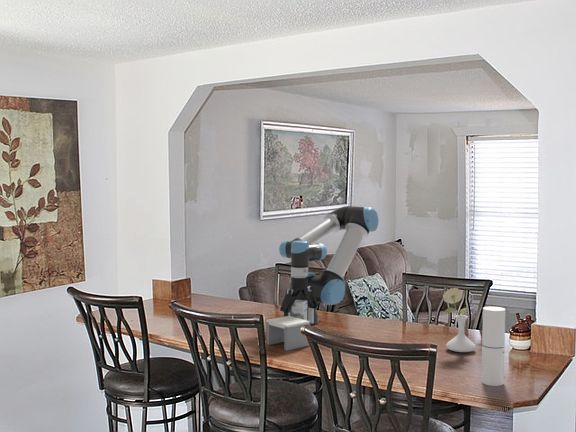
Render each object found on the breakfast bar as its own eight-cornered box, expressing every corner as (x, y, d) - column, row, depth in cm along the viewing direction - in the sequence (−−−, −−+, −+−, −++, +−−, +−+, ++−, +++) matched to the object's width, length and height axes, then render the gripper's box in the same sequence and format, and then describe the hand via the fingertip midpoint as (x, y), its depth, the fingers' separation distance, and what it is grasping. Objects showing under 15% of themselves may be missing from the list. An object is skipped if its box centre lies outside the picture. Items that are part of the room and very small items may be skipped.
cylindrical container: (476, 381, 224) (478, 307, 222) (491, 377, 227) (493, 305, 226) (493, 387, 217) (495, 311, 216) (508, 383, 221) (510, 309, 220)
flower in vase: (476, 348, 266) (477, 286, 264) (475, 355, 255) (477, 291, 253) (442, 345, 269) (443, 284, 268) (440, 353, 259) (441, 289, 257)
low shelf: (266, 344, 271) (266, 319, 271) (288, 339, 279) (288, 315, 278) (287, 350, 262) (287, 325, 261) (309, 345, 269) (309, 321, 269)
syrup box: (307, 332, 291) (307, 299, 290) (303, 335, 285) (303, 302, 284) (295, 331, 293) (295, 299, 292) (291, 334, 287) (291, 301, 286)
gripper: (283, 280, 276) (283, 330, 278) (326, 274, 293) (326, 322, 294) (271, 278, 282) (271, 327, 284) (314, 272, 298) (314, 319, 300)
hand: (299, 325), depth 289 cm, fingers open, 13 cm apart
